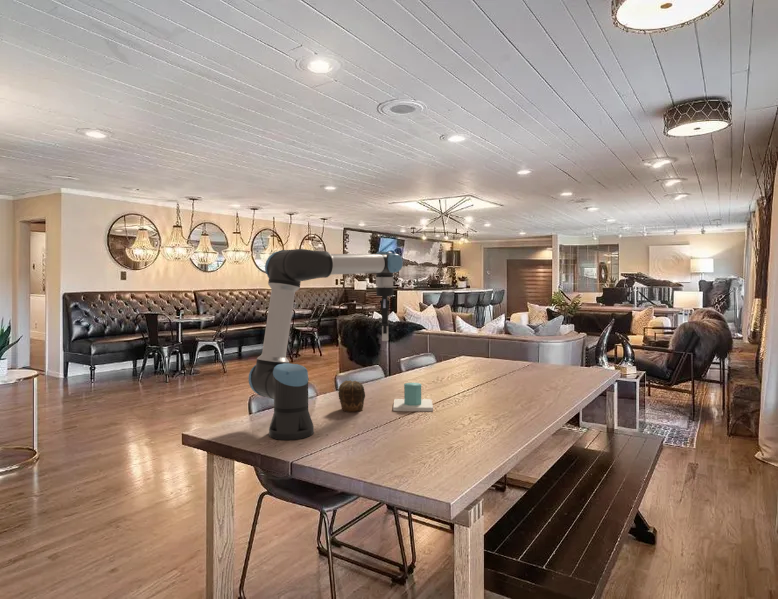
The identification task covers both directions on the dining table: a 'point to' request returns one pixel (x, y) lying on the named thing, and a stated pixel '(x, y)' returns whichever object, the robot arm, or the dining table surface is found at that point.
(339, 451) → the dining table surface
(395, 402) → the post board
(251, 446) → the dining table surface
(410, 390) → the teal cylinder
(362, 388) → the brown domed block
